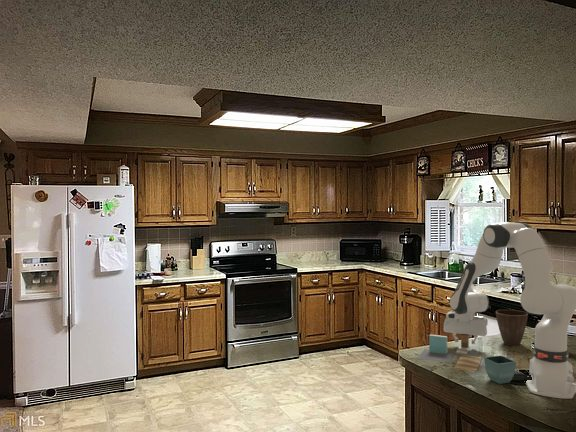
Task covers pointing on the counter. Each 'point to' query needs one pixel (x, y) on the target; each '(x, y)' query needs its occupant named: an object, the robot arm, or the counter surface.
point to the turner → (463, 345)
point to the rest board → (468, 363)
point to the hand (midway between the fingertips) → (464, 342)
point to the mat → (436, 356)
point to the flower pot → (499, 369)
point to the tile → (438, 344)
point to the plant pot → (511, 325)
